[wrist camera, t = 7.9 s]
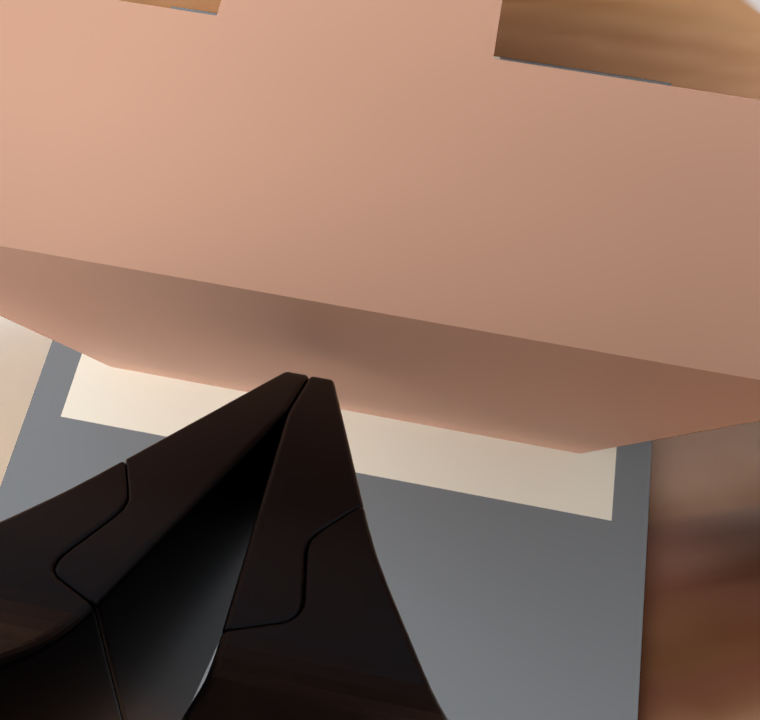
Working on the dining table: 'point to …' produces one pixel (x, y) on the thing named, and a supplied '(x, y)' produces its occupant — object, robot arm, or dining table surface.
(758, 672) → the dining table surface
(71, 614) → the robot arm
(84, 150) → the t block
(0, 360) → the dining table surface
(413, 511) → the mat
